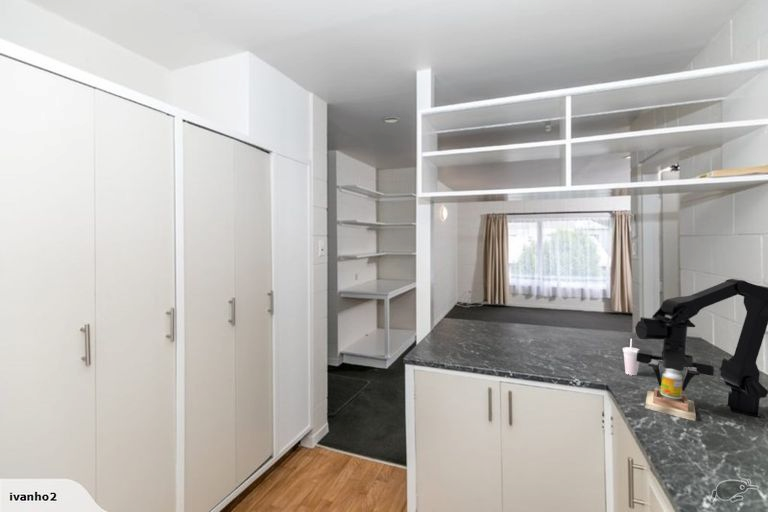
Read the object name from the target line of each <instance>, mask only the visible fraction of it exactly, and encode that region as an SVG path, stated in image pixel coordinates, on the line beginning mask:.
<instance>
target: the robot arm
mask: <svg viewBox="0 0 768 512" xmlns="http://www.w3.org/2000/svg"><path fill="white" fill-rule="evenodd" d="M737 295H738V296H741V297H743V306H744V307H745V311H746V314H745V317H744V321H743V323H742V324H743V325H742V327H741V331H740V335H739V338H738V341H737V344H736V347H735V351H734V354H733V356H731V357H730V358H729V359H726V358H723V359H722V360H721V366H720V367H719V369H718V371H719V372H720V377H721V378H722V380H723V381H724V384H725V385H726V386H727V387H729V390H728V391H727V394H726V406H727V407H728V408H729V410H730V411H731V412H736V413H739V414H744V415H748V416H753V417H757V418H760V417H761V415H760V413H759V409H760V399H762V398H764V399H765V398H766V397H767V395H768V389H767V388H766V387H764V386H763V385H762V383H761V382H760V369H759V367H758V365H757V359H758V357H759V354H760V350H761V347H762V344H763V341H764V338H765V335H766V332H767V331H766V330H767V328H768V286H764V285H757V284H754V283H751V282H748V281H746V280H742V279H737V278H736V279H735V278H728V279H726V280H725V281H723V282H721V283H717V284H716V285H713V286H711V287H707V288H706V289H703V290H701V291H698V292H696V293H693V294H691V295H685V296H676V297H670V298H666V299H664V300H663V301H662V304H661V306H659V309H657V311H655V313H653V315H652V317H645V316H644V317H643V316H641V317H640V319H639V320H638V321H637V323H636V325H635V334H636V336H637V337H638V339H640V340H654V341H655V340H660V341H661V340H662V350H661V355H655V354H653V351H651V350H646V349H641V348H640V350H638V352H637V358H636V361H638V362H640V363H643V364H644V363H645V364H647V366H648V367H651V369H652V370H653V371H654V374H655V376H656V380H657V383H658V386H660V387H661V375H662V371H661V364H660V363H662V367H663V368H664V369H665V368H667V369H675V370H677V371H681V372H682V371H684V368H685V371H684V372H685V373H684V375H683V389H682V392H684V391H685V390H686V388H687V386H688V385H689V382H690V381H691V380H692V379H693V378H694V377H695V376H698V377H699V376H700V375H705V376H714V373H715V366H714V364H713V363H712V361H709V360H704V359H698V358H696V359H695V361H693V360H694V359H693V355H689V354H686V353H687V352H686V351H687V337H688V328H696V325H695V324H694V323H693V322H692V321H691V320H690V319H691V318H693V317H695V316H697V315H698V314H699V312H700V311H701V310H702V309H705V308H706V307H709V306H712V305H714V304H715V305H716V303H720V302H723V301H725V300H727V299H729V298H732V297H735V296H737Z"/></svg>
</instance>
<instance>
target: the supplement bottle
mask: <svg viewBox="0 0 768 512" xmlns="http://www.w3.org/2000/svg"><path fill="white" fill-rule="evenodd" d="M681 372H682V371H677V370H675V369H667V368H664V370H662V371H661V386H660V389H661V390H660V393H661V394H662V395H663V396H665V397H668V398H672V399H681V398H682V394H683V391H682V389H683V381H684V375H683V374H682V373H681Z"/></svg>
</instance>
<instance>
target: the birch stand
mask: <svg viewBox="0 0 768 512" xmlns="http://www.w3.org/2000/svg"><path fill="white" fill-rule="evenodd" d="M660 390H661V388H657V387H656V388H654V390H653V391H652V390H647V393H646V398H645V399H646V400H645V408H644V409H647V410H652V411H654V412H655V411H656V412H659V413H663V414H666V415H671V416H675V417H679V418H683V419H687V420H689V421H694V422H696V416H697V415H696V407H695V401H694V400H690V399H688V395H687V394H683V393H682V398H681V399H672V398H668V397H665V396H663V395H662V394H661V393H660Z"/></svg>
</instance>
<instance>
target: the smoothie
mask: <svg viewBox="0 0 768 512" xmlns="http://www.w3.org/2000/svg"><path fill="white" fill-rule="evenodd" d="M640 349H641V348H640ZM640 349H639V348H636V347H633V338H630V342H629V346H625V347H622V352H623V360H624V361H623V362H624V370H625V371H624V372H625V374H626V375H628V374H629V376H632V375H636V376H637V375H638V370H639V367H640V363H641V362H638V361H636V358H637V352H638V350H640Z"/></svg>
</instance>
